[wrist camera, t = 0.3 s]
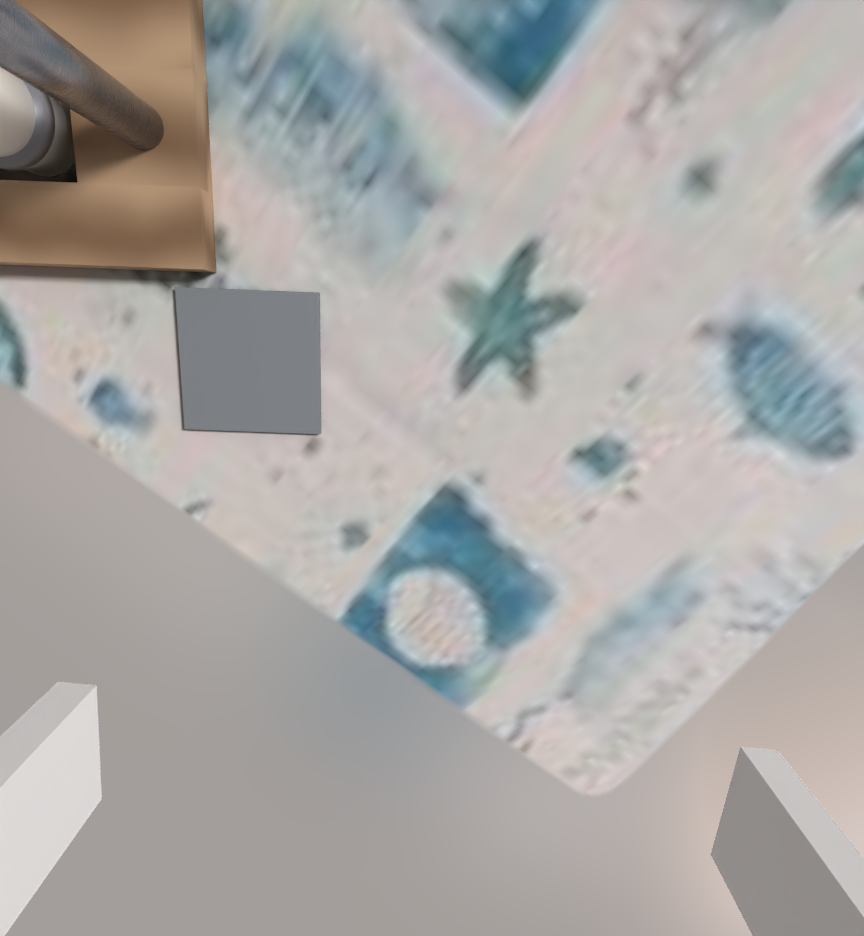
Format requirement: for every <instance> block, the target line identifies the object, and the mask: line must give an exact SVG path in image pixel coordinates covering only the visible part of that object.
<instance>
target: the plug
mask: <svg viewBox="0 0 864 936" xmlns="http://www.w3.org/2000/svg"><path fill="white" fill-rule="evenodd" d="M74 163H75V153H74V143H73V133H72V124H71V114H70V109H69V108H67V107H66V106H64V105H62V104H61V103H59V102H57V101H56V100H54V99H52V98H51V97H49V96H47V95H46V94H44V93H42V92H41V91H39V90H37V89H36V88H34V87H32V86H31V85H29V84H27V83H26V82H24V81H22V80H21V79H19V78H17V77H16V76H14V75H12V74H11V73H9V72H7V71H6V70H4V69H2V68H1V67H0V168H1V169H5V170H22V169H24V170H26V171H29V172H31V173H34V174H37V175H40V176H47V177H48V176H57V175H60V174H62V173H64V172H66V171H67V170H68V169H70V168H71V167H72V166H73V164H74Z"/></svg>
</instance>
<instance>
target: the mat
mask: <svg viewBox="0 0 864 936" xmlns="http://www.w3.org/2000/svg"><path fill="white" fill-rule="evenodd" d="M175 298H176V313H177V327H178V342H179V357H180V372H181V386H182V401H183V416H184V429H192V430H219V431H246V432H274V433H301V434H321V369H320V293H314V292H287V291H260V290H233V289H206V288H179V287H175Z"/></svg>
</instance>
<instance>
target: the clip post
mask: <svg viewBox="0 0 864 936" xmlns="http://www.w3.org/2000/svg"><path fill="white" fill-rule="evenodd" d="M0 67H1V68H2V69H4V70H6V71H7V72H9V73H11V74H12V75H14V76H16V77H17V78H19V79H21V80H22V81H24V82H26V83H27V84H29V85H31V86H32V87H34V88H36V89H37V90H39V91H41V92H42V93H44V94H46V95H47V96H49V97H51V98H52V99H54V100H56V101H57V102H59V103H61V104H62V105H64V106H66V107H67V108H69V109H71V110H72V111H74V112H76V113H77V114H79V115H81V116H82V117H84V118H86V119H87V120H89V121H91V122H92V123H94V124H96V125H97V126H99V127H101V128H102V129H104V130H106V131H107V132H109V133H111V134H112V135H114V136H116V137H117V138H119V139H121V140H122V141H124V142H126V143H127V144H129V145H131V146H132V147H134V148H136V149H138V150H142V151H148V150H152V149H154V148H155V147H157V146H158V145H159V144H160V142H161V140H162V138H163V134H164V125H163V121H162V119H161V117H160V115H159V114H158V112H157V111H156V110H155V109H154V108H152V107H151V106H150V105H149V104H147V103H146V102H145V101H143V100H142V99H141V98H140V97H138V96H137V95H136V94H135V93H133V92H132V91H131V90H129V89H128V88H127V87H126V86H124V85H123V84H122V83H120V82H119V81H118V80H117V79H115V78H114V77H113V76H111V75H110V74H109V73H108V72H106V71H105V70H104V69H102V68H101V67H100V66H99V65H97V64H96V63H95V62H93V61H92V60H91V59H90V58H88V57H87V56H86V55H85V54H83V53H82V52H81V51H79V50H78V49H77V48H76V47H74V46H73V45H72V44H70V43H69V42H68V41H67V40H65V39H64V38H63V37H61V36H60V35H59V34H58V33H56V32H55V31H54V30H52V29H51V28H50V27H49V26H47V25H46V24H45V23H44V22H42V21H41V20H40V19H38V18H37V17H36V16H35V15H33V14H32V13H31V12H29V11H28V10H27V9H26V8H24V7H23V6H22V5H20V4H19V3H18V2H17V1H15V0H0Z"/></svg>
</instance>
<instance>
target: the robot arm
mask: <svg viewBox="0 0 864 936" xmlns="http://www.w3.org/2000/svg"><path fill="white" fill-rule="evenodd" d="M97 708H98V707H97V686H96V685H87V684H76V683H66V682H57V683H56V684H55V685H54V686H53V687H52V688H51V689H50V690H49V691H48V692H47V693H46V694H45V695H44V696H43V697H42V698H40V699H39V700H38V701H37V702H36V703H35V704H34V705H33V706H32V707H31V708H30V709H29V710H28V711H27V712H26V713H24V715H22V716H21V717H20V718H19V719H18V720H17V721H16V722H15V723H14V724H13V725H12V726H11V727H10V728H9V729H7V731H5V732H4V733H3V734H2V735H1V736H0V936H5V934H6V933H7V931H8V930H9V929H10V927H11V926H12V924H13V923H14V922H15V920H16V919H17V917H18V916H19V915H20V913H21V912H22V910H23V909H24V907H25V906H26V905H27V903H28V902H29V900H30V899H31V898H32V896H33V895H34V893H35V892H36V891H37V889H38V888H39V886H40V885H41V884H42V882H43V881H44V879H45V878H46V876H47V875H48V874H49V872H50V871H51V869H52V868H53V867H54V865H55V864H56V862H57V861H58V860H59V858H60V857H61V855H62V854H63V852H64V851H65V849H66V848H67V847H68V845H69V844H70V843H71V841H72V839H73V838H74V837H75V835H76V834H77V833H78V831H79V830H80V828H81V827H82V826H83V824H84V822H85V821H86V820H87V819H88V817H89V816H90V814H91V813H92V812H93V810H94V809H95V807H96V806H97V804H98V803H99V802H100V800H101V799H102V796H101V774H100V752H99V730H98V709H97ZM711 856H712V857H713V860H714V862H715V863H716V865H717V867H718V869H719V871H720V873H721V875H722V877H723V879H724V881H725V883H726V884H727V887H728V889H729V890H730V892H731V894H732V896H733V898H734V900H735V902H736V904H737V906H738V908H739V910H740V912H741V914H742V916H743V918H744V919H745V921H746V923H747V925H748V927H749V929H750V931H751V933H752V935H753V936H864V858H863V856H862V855H861V854H860V852H859V851H858V850H857V849H856V848H855V846H854V845H853V844H852V842H851V841H850V840H849V839H848V837H847V836H846V835H845V834H844V832H843V831H842V830H841V829H840V827H839V826H838V825H837V824H836V822H835V821H834V820H833V819H832V818H831V816H830V815H829V814H828V812H827V811H826V810H825V809H824V808H823V806H822V805H821V804H820V803H819V801H818V800H817V799H816V798H815V796H814V795H813V794H812V793H811V791H810V790H809V789H808V788H807V787H806V785H805V784H804V783H803V781H802V780H801V779H800V778H799V776H798V775H797V774H796V773H795V771H794V770H793V769H792V768H791V766H790V765H789V764H788V763H787V761H786V760H785V759H784V758H783V756H782V755H781V754H780V753H779V751H778V750H771V749H760V748H749V747H740V751H739V755H738V758H737V762H736V765H735V769H734V772H733V776H732V780H731V783H730V787H729V791H728V794H727V798H726V802H725V805H724V809H723V812H722V816H721V820H720V823H719V827H718V830H717V834H716V838H715V841H714V845H713V849H712V852H711Z"/></svg>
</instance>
